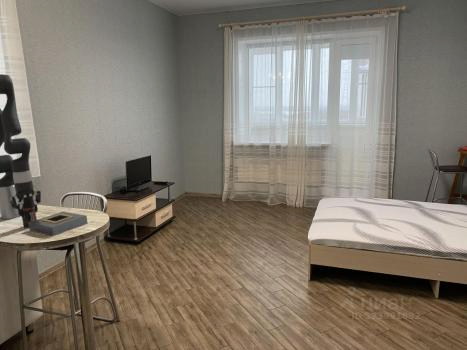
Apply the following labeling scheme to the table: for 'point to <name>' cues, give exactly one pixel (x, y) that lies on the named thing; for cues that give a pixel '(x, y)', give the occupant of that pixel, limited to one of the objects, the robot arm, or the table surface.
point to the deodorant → (28, 211)
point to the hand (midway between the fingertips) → (28, 214)
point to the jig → (57, 223)
